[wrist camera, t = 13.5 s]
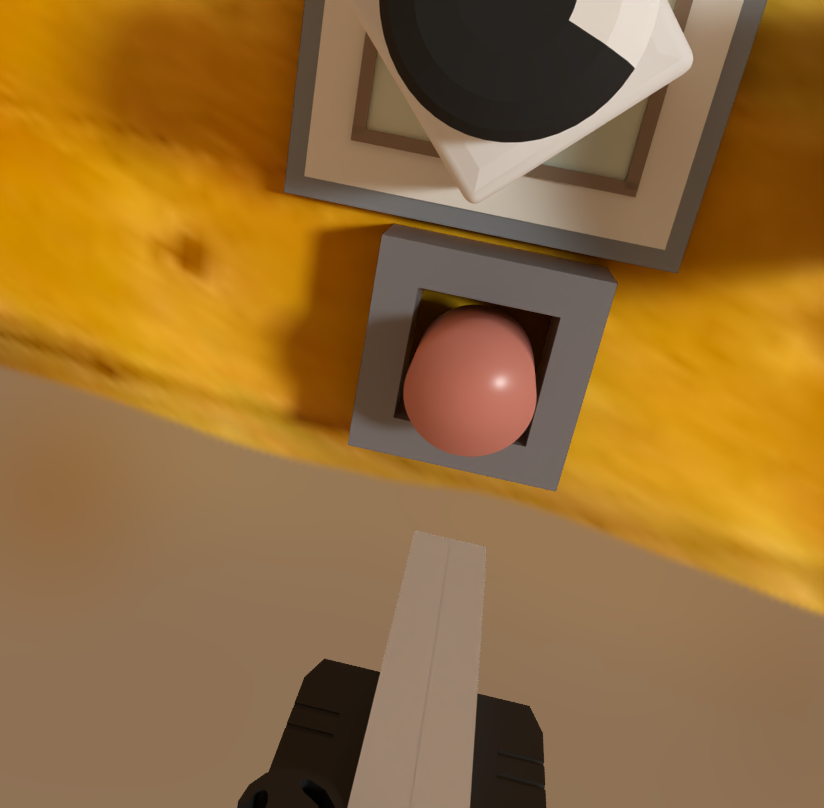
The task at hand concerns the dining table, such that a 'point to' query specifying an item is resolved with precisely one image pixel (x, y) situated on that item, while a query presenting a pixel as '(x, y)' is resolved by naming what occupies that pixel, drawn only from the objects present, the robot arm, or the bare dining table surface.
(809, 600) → the dining table surface
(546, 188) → the picture board
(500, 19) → the medicine bottle
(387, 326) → the button housing
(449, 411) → the button
